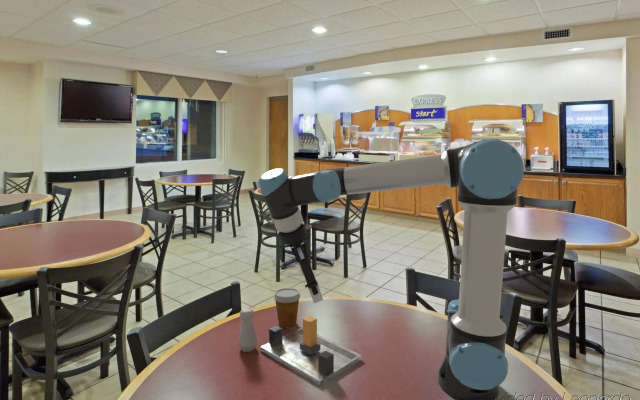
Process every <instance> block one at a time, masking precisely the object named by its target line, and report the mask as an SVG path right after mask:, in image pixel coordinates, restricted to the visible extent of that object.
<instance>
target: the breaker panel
mask: <svg viewBox="0 0 640 400" xmlns="http://www.w3.org/2000/svg"><path fill="white" fill-rule="evenodd" d="M301 342H303V326H302V327H300V328H298V329H295V330H293V331H291V332H290V333H287V334H285V335H283V327H280V326H279V325H274V326H272V327H269V328H268V342H267V343H265V344H263V345H261V346H260V351H261V352H262V353H263V354H266V355H267V356H268V357H270V358H272V359H273V360H275V361H277V362H278V363H280V364H282V365H283V366H285V367H286V368H289V369H290V370H292V371H293V372H295V373H297V374H298V375H300V376H302V378H303V377H304V378H305V379H306V380H308V381H310V382H311V383H313V384H315V385H317V386H318V387H322V386H323V385H324V384H326V383H328V382H330V381H332V380H333V379H334V378H336V377H338V376H339V375H340V374H342V373H344V372H345V371H346V370H348V369H350V368H352V367H353V366H355V365H356V364H358V363H360V362H361V361H362V359H363V355H362V354H359V353H358V352H355V351H353V350H352V349H349V348H348V347H345V346H343V345H341V344H339V343H337V342H335V341H334V340H330V339H329V338H326V337H323V336H322V335H320V334H318V333H317V343H319V344H320V351H318V352H316V353H314V354H312V355H310V354H308V353H306V352H304V351H302V350H301V349H300V343H301Z"/></svg>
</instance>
